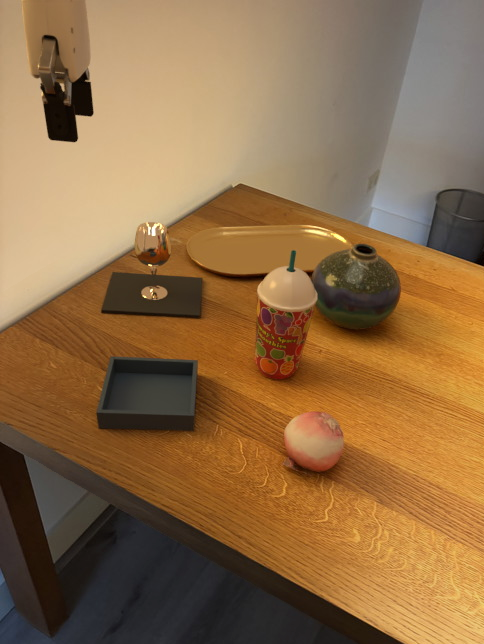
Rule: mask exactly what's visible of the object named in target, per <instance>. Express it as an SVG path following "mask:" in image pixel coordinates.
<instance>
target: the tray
mask: <svg viewBox="0 0 484 644" xmlns="http://www.w3.org/2000/svg"><path fill="white" fill-rule="evenodd" d="M198 362H199V360H198V359H184V358H183V359H180V358H157V357H139V356H137V357H136V356H114V355H113V356H112V355H111V356H110V357H109V361H108V365H107V370H106V373H105V377H104V381H103V384H102V389H101V392H100V395H99V401H98V403H97V404H98V405H97V408H96V420H97V426H98V429H109V430H110V429H112V430H147V431H148V430H149V431H150V430H151V431H152V430H154V431H184V432H185V431H188V432H194V431H195V420H196V419H195V418H196V403H197V389H198V387H197V386H198V368H199V367H198V366H199V363H198Z"/></svg>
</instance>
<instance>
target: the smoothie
mask: <svg viewBox="0 0 484 644" xmlns="http://www.w3.org/2000/svg"><path fill="white" fill-rule="evenodd" d="M295 256H296V251H295V250H292V251H291V256H290V263H289V266H282V267H278V268H276V269H274V270H273V271H271V272H270V273H269V274H268V275H267V276H264V279H262V281H260V283H259V284H258V285H257V289H256V294H257V297H256V299H257V300H256V324H255V325H256V326H255V348H254V349H255V351H254V352H255V354H254V362H255V365H256V367H257V369H258V371H259V372H260V374H261V375H263V376H264V377H266V378H269V379H271V380H278V381H279V380H285V379H288V378H290V377H291V376H292V375H294V373H295V372H296V371H297V370H298V369H299V367H300V362H301V359H302V355H303V353H304V348H305V344H306V342H307V337H308V334H309V330H310V326H311V323H312V319H313V316H314V312H315V308H316V307H315V304H316V301H317V292H316V290H315V288H314V285H313V283H312V281H311V278H310V276H309V275H308V273H305V272H304V271H302V270H301V269H299V268H296V267H294V263H295Z"/></svg>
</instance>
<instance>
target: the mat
mask: <svg viewBox="0 0 484 644" xmlns="http://www.w3.org/2000/svg"><path fill="white" fill-rule="evenodd" d="M203 280H204V279H203V277H198V276H183V275H179V276H178V275H167V274H156V277H155V282H156V286H161V287H163V288H165V289H166V290H167V292H168V294H167V296H166V297H165V298H163V299H160V300H150V299H146V298H144V297H143V296H142V294H141V291H142V290H143V289H144V288H145V287H147V286H153V277H152V273H150V274H149V273H137V272H136V273H134V272H133V273H132V272H121V271H112V273H111V276H110V280H109V283H108V286H107V289H106V293H105V296H104V299H103V302H102V306H101V309H100V311H101V313H102V314H116V315H117V314H119V315H137V316H155V317H174V318H190V319H191V318H192V319H201V310H202V294H203Z"/></svg>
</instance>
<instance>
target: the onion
mask: <svg viewBox="0 0 484 644" xmlns="http://www.w3.org/2000/svg"><path fill="white" fill-rule="evenodd" d="M344 437H345V436H344V431H343V429H342V427H341V425H340V423H339V421H338V420H337V419H335V418H334V417H333V416H332V415H331V414H329V413H327V412H326V411H315V410H313V411H306V412H304V413H300V414H299V415H296V416H295V417H294V418H292V419H291V420H290V421H289V422H288V424H286V426H285V428H284V431H283V443H284V447H285V450H286V455H287V457H286V458H285V460H284V461H283V462H282V466H284V467H287V468H290V469H292V470H293V471H296V472H299V474H300V473H301V474H305V475H307V476H309V477H312V474H310V473H308V472H309V471H310V472H317V473H318V472H319V473H320V472H325V471H329V470H330V469H331V468H333V467H334V466H335V465H336V464H337V463H338V462H339V460H340V458H341V457H342V455H343V452H344V449H345V438H344ZM296 465H298V466H300V467H302V468H303V469H305V470H307V471H301V470H298V469H297V468H298V467H297V466H296Z"/></svg>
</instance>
